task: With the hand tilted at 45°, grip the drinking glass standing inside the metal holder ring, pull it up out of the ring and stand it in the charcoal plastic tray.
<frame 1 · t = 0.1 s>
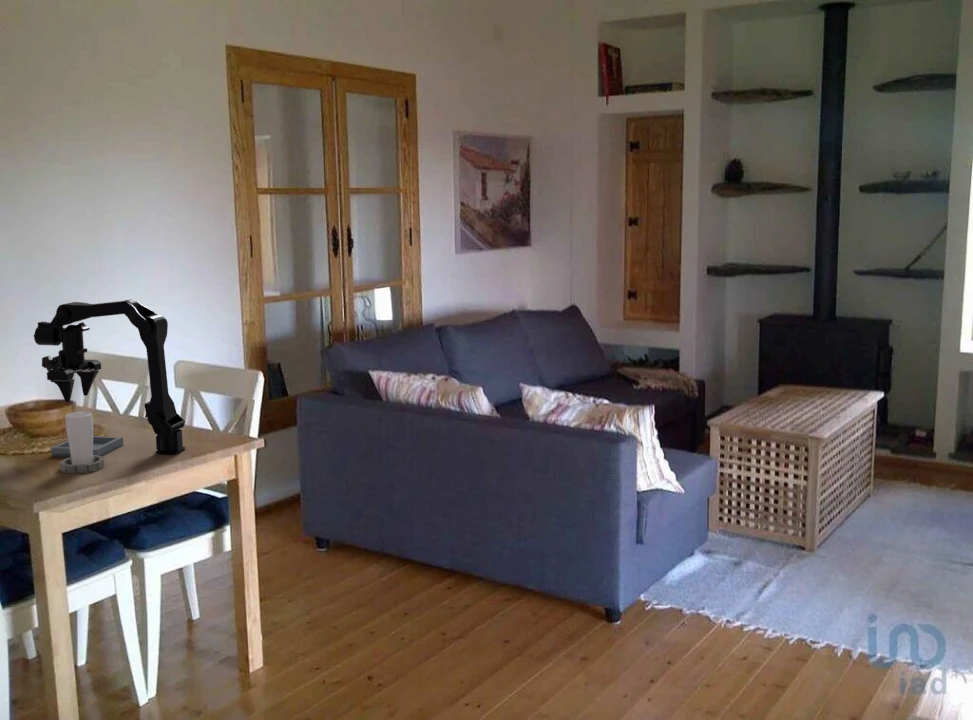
hand: (76, 398, 276), 15 cm above the table, tool pointing down, fingers open, 9 cm apart
tray: (88, 450, 275), on the table
holder ring: (82, 467, 259), on the table
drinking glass: (82, 468, 259), resting in holder ring
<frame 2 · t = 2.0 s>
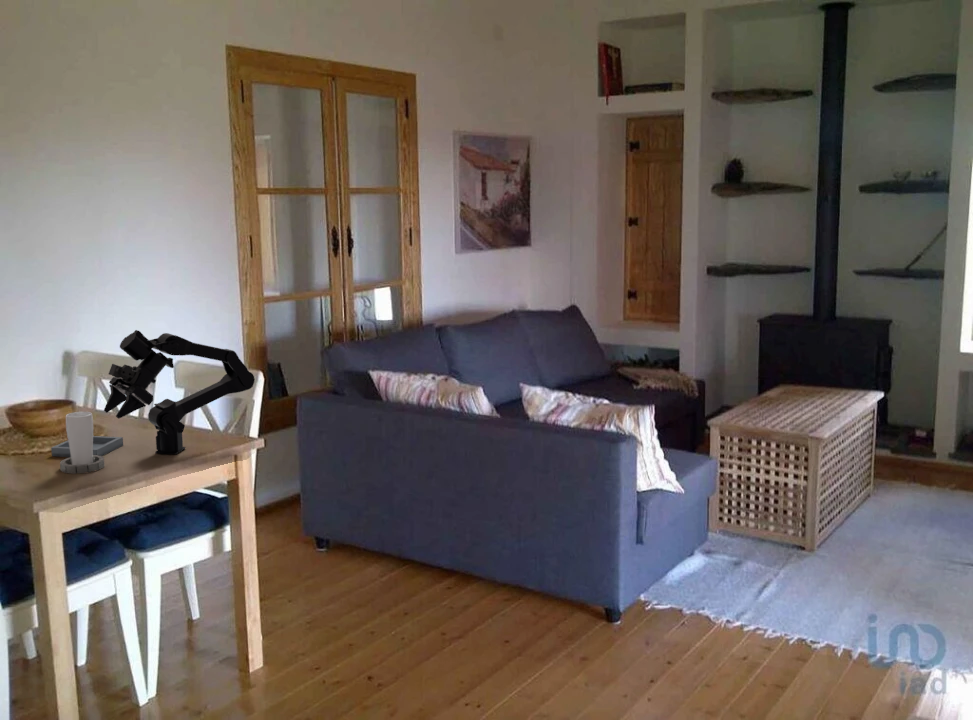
hand: (111, 414, 262), 14 cm above the table, tool tilted 45°, fingers open, 9 cm apart
nothing on the table moved.
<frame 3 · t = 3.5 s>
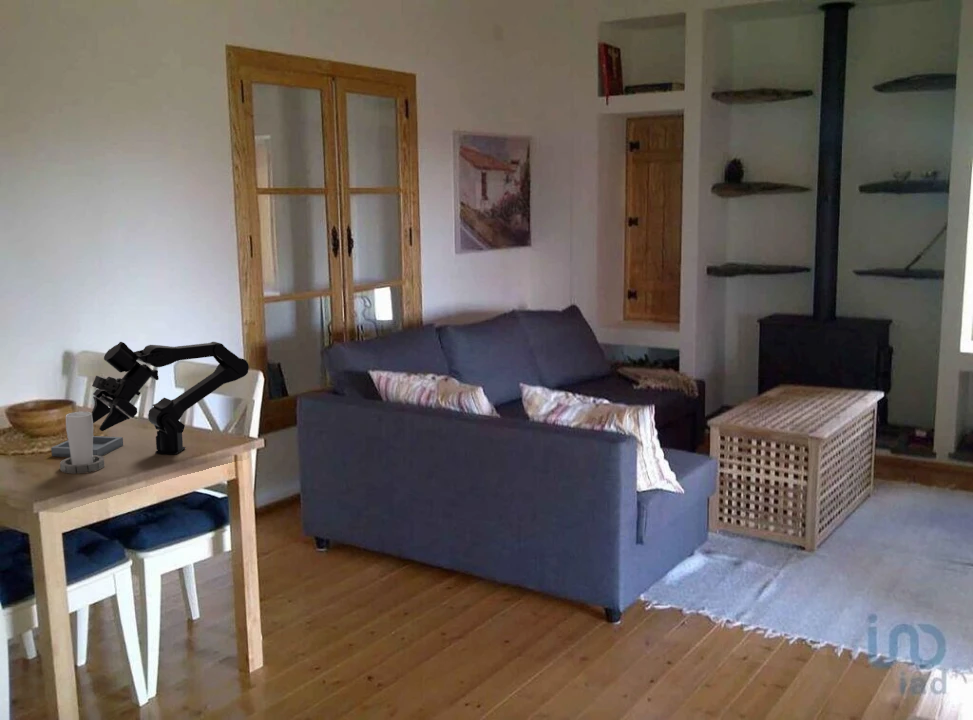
hand: (94, 427, 259), 11 cm above the table, tool tilted 45°, fingers open, 9 cm apart
nothing on the table moved.
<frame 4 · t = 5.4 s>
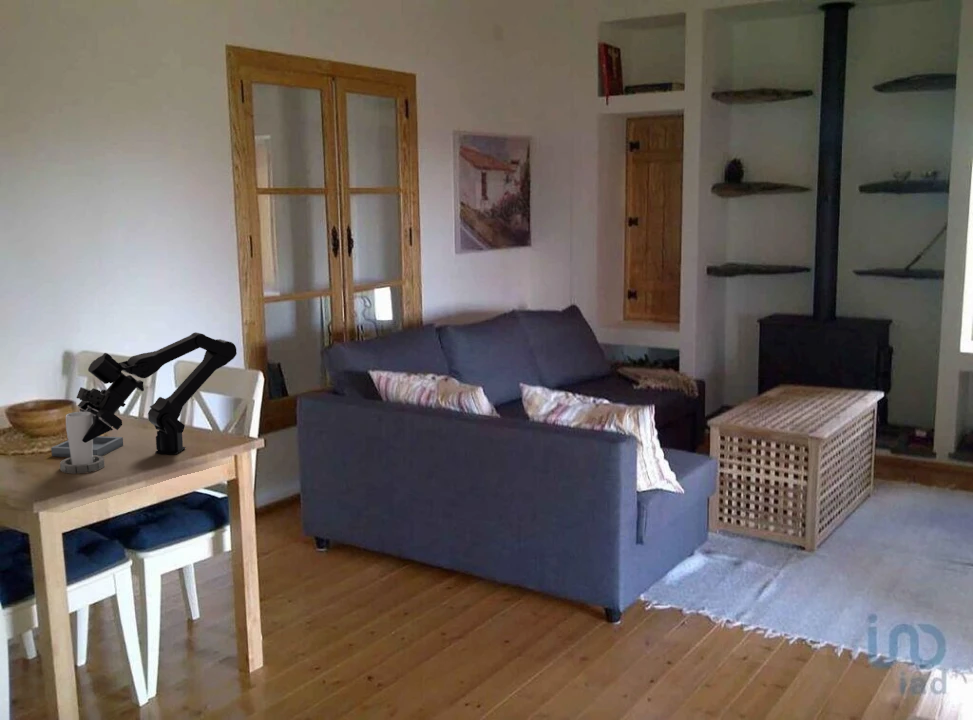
hand: (79, 439, 257), 8 cm above the table, tool tilted 45°, fingers closed on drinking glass, 7 cm apart
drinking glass: (82, 468, 259), resting in holder ring, touching gripper
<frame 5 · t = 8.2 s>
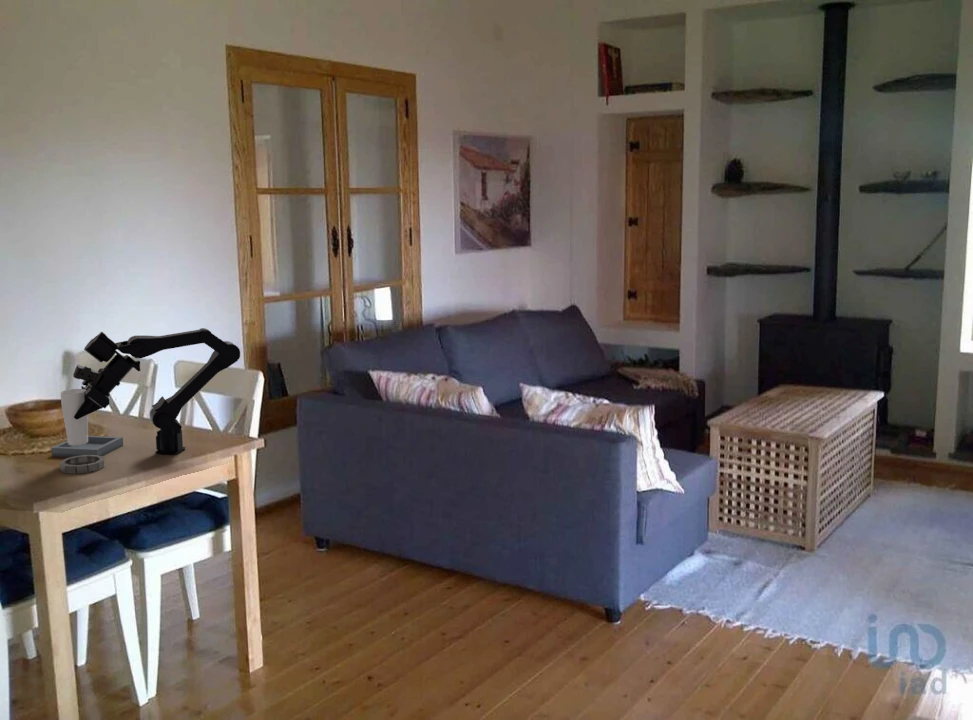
hand: (74, 415, 262), 13 cm above the table, tool tilted 45°, fingers closed on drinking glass, 7 cm apart
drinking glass: (78, 444, 263), point 5 cm above the table, touching gripper
when the fingers open (10 cm above the table, at t = 11.0 s): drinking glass drops 1 cm, resting on tray.
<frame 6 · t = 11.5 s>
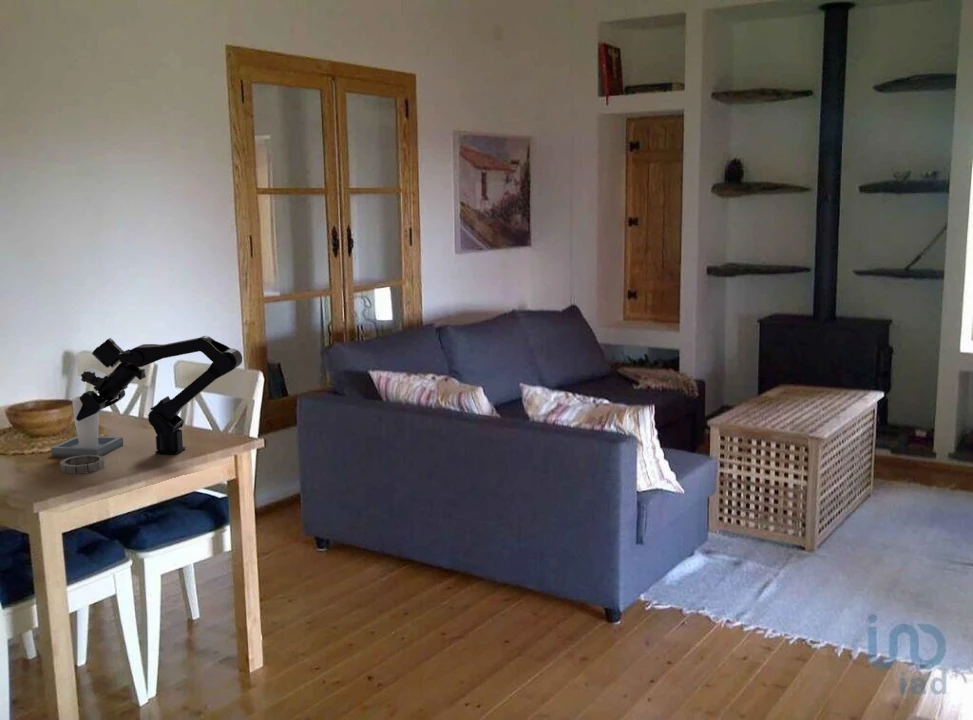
hand: (84, 416, 274), 10 cm above the table, tool tilted 45°, fingers open, 9 cm apart
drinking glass: (88, 448, 275), point 1 cm above the table, touching tray
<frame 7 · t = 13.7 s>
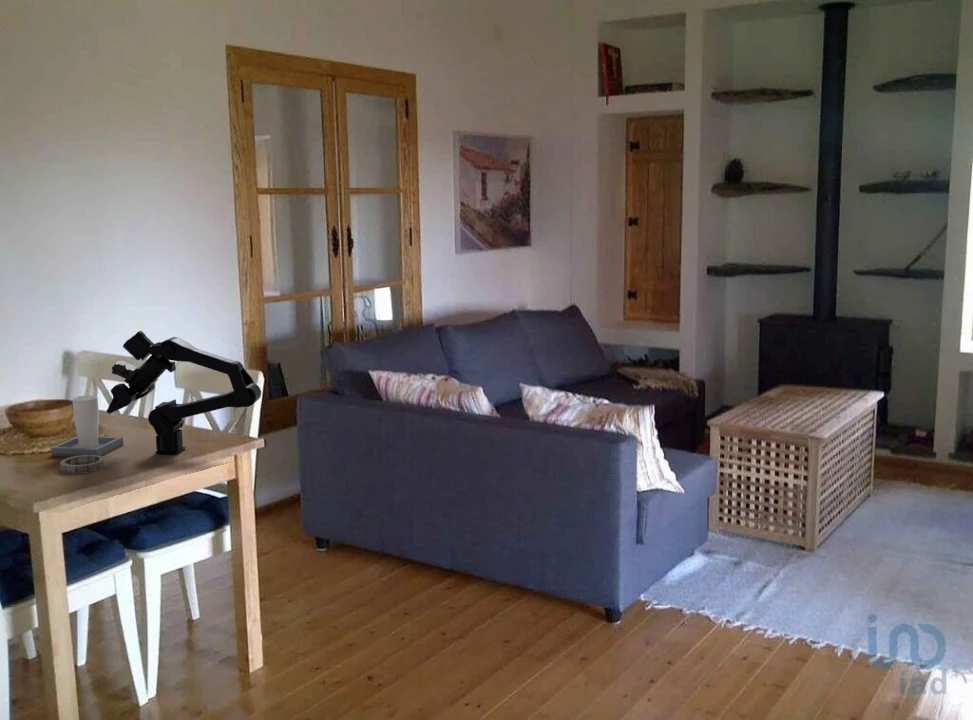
hand: (114, 408, 273), 13 cm above the table, tool tilted 45°, fingers open, 9 cm apart
nothing on the table moved.
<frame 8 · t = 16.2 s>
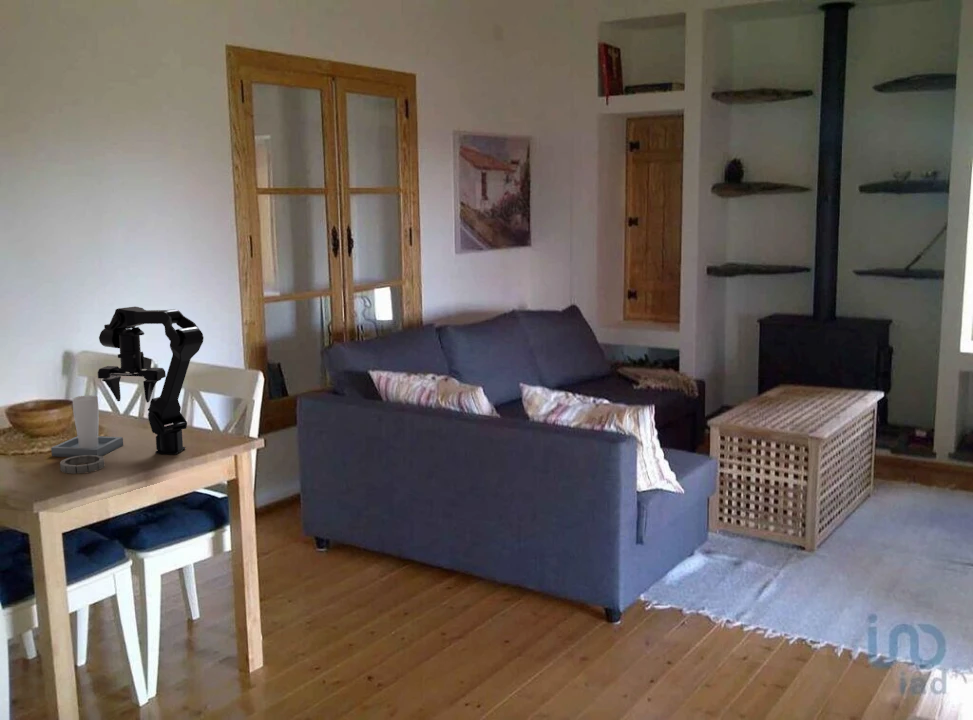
hand: (133, 401, 280), 13 cm above the table, tool pointing down, fingers open, 9 cm apart
nothing on the table moved.
at the end: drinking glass 0.2 cm off-centre on the tray, point 0.6 cm above the tray's base; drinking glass tilted 0°; the gripper is holding nothing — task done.
